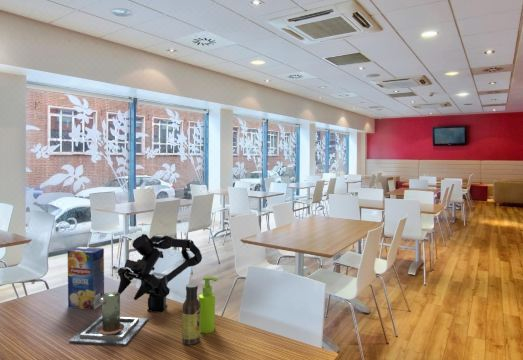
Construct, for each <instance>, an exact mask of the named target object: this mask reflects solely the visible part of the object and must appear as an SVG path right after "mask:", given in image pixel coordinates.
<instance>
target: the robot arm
mask: <svg viewBox="0 0 523 360" xmlns="http://www.w3.org/2000/svg"><path fill="white" fill-rule="evenodd" d="M132 248H133V249H134V250H135V251H136V252H137V253H138V254H139V255H140V256H142V258H141V259H140V258H139V259H137V260H136V261H135V260H131V259H128V258H127V259H126V260H125V263H124V267H123V266H121V267H119V269H118V270H117V272H116V273H118V276H119V279H120V280H119V285H118V289H117V292H119V293H120V295H122V294H123V292H124V291H125V290H126V289H127V287H129V286H130V284H131V283H132V281H133V280H134V279H136V280H139V281H140V286H139V288H138V290H137V291H136V292H135V295H134V297H133V300H134V301H137V300H139V298H141V297H142V296H144V295H145V294H146V295H148V298H147V312H161V313H162V312H164V311H165V309H166V308H167V307H168V304H167V297H168V295H170V290H171V289H170V288H169V287H168V284H169V282H171V281H172V280H173V279H175V278H176V277H177V276H178V275H180V274H181V273H183V272H184V271H185V270H186V269H188V268H191V267H195V266H197V265H199V264H200V263H201V262H202V259H203V257H202V256H203V255H202V253H201V250H200V249H199V248H198V246H197V245H196V244H195V242H194V241H193V240H192V239H189V238H174V237H172V236H169V235H166V234H165V235H164V234H159V233H156V234H153V235H152V236H151V237H149V236H148V234H145V233H142V234H141V235H139V236H138V237H137V238H135V239H134V240H133V241H132ZM171 248H180V249H181V251H180V254H181V258H180V259H179V260H177V261H176V262H175V263H174V264H173V265H171V266H169V267H168V268H167V269H165V270H164V271H162V272H155V269H156V268H155V265H156V263H157V262H158V260H159V258H160V259H164V254H163V253H164V252H163V251H161V250H169V249H171ZM159 249H161V250H159ZM152 271H154V272H152ZM151 272H152V273H151Z"/></svg>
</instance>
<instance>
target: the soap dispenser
mask: <svg viewBox="0 0 523 360" xmlns="http://www.w3.org/2000/svg"><path fill="white" fill-rule="evenodd" d="M202 280H204V285H202V293H200V294H199V295H198V301H199V302H200V306H201V313H200V315H201V319H200V334H210V333H213V332H214V331H215V327H216V326H215V324H216V323H215V322H216V321H215V319H216V294H215V293H214V292H212V291H213V285H211V283H210V282H211V281H213V282H217V281H218V280H219V278H218V277H214V276H204V277H203V278H202Z"/></svg>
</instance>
